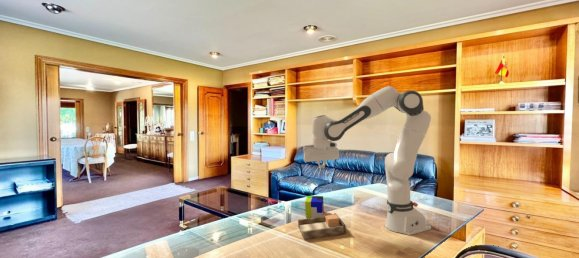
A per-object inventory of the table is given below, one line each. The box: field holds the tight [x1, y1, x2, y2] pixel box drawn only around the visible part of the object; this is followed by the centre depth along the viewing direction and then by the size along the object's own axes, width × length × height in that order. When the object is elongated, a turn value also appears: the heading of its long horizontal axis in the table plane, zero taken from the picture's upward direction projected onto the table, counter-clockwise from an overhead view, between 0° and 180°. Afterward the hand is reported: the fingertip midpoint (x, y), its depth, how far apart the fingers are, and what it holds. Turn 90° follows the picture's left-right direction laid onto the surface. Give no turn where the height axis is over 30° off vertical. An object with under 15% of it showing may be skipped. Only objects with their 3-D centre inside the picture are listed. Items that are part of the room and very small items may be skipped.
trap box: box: [297, 213, 347, 240], centre depth 138 cm, size 22×15×5 cm
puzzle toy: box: [304, 195, 325, 219], centre depth 158 cm, size 10×10×10 cm
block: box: [325, 213, 340, 227], centre depth 139 cm, size 6×5×4 cm
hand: (321, 168), depth 147 cm, fingers closed
